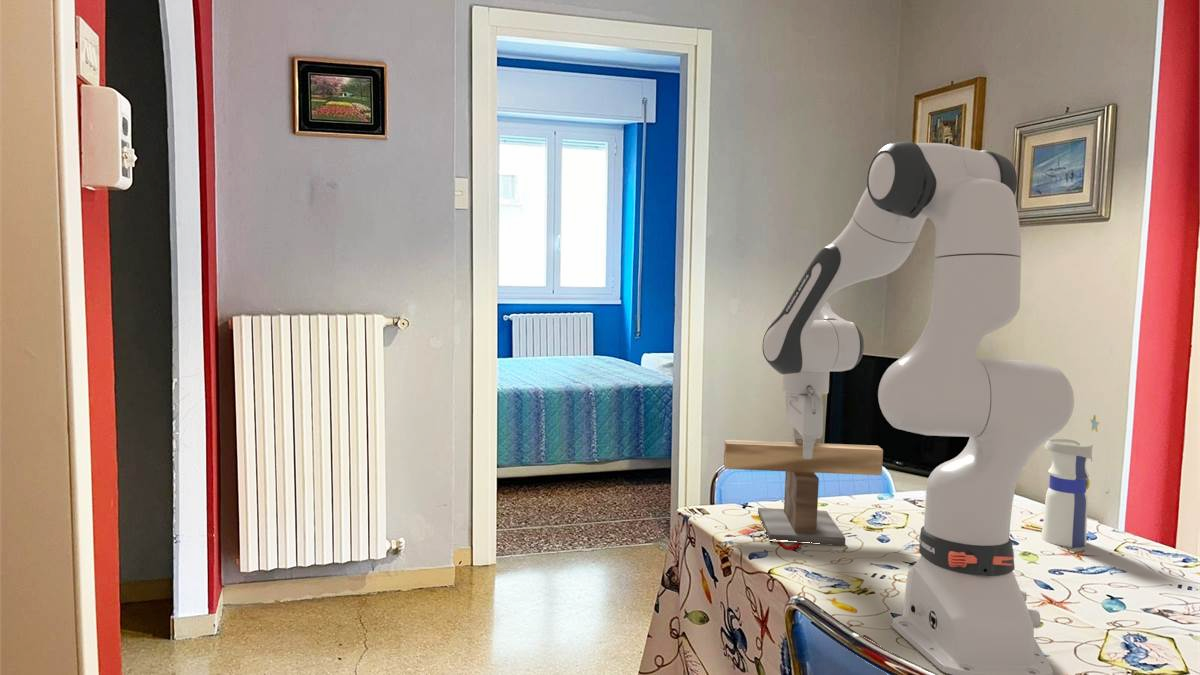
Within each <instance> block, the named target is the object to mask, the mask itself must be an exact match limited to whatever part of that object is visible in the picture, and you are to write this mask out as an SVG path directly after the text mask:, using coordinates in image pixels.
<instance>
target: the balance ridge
mask: <svg viewBox="0 0 1200 675" xmlns="http://www.w3.org/2000/svg"><path fill="white" fill-rule="evenodd" d="M816 474H817V473H812V472H788V471H785V478H784V480H785V481H784V502H783V503H784V504H783V508H767V507H765V508H764V507H758V509H757V511H758V512H757V515H758V514H759V516H758V518H759V517H760V519H761V521H762V523H761V525H762V524H763V526H764V528H765V530H766V532H767V535H768V537H769V539H776V540H788V541H797V542H810V543H811V542H812V543H820V544H832V545H831V546H841V545H845V546H846V537H845V535H844V534H843V532H842V531H841V529H840V528H839V526H838V525H837V524H836V523H835V521H834V519H833V518H832V516H830V514H829V513H828V512H827V510H818V507H819V506H818V505H819V504H818V502H819V484H820V483H819V477H818V476H817V475H816ZM760 519H759V520H760ZM761 521H760V522H761ZM763 526H762V527H763ZM764 528H763V529H764ZM767 535H766V536H767ZM820 544H819V545H820Z"/></svg>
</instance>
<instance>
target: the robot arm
mask: <svg viewBox="0 0 1200 675" xmlns="http://www.w3.org/2000/svg"><path fill="white" fill-rule="evenodd" d="M1016 171H1017V170H1016V168H1015V166H1014V164H1013V162H1012V161H1011V160H1010V159H1009V158H1007V157H1006V156H1004V155H1002V154H999V153H997V152H994V151H990V150H985V149H984V150H983V149H982V150H977V149H973V148H969V147H964V146H957V145H953V144H950V143H940V142H914V141H911V140H910V141H909V140H907V141H906V140H905V141H899V142H893V143H888V144H886V145H884V146H882V147H881V148H880V149H879V150H878V151H877V153H876V154H875V156H874V157H873V159H872V160H871V163H870V165H869V167H868V171H867V177H866V187H865V189H864V192H863V193H862V195H861V196H860V199H859V201H858V203H857V204H856V207H855V209H854V212H853V215H852V217H851V219H850V220H849V222H848V223H847V225H846V226H845V227H844V229H843V230H842V232H841V233H840V234H839V235H838V236H837V237H836V238H835V239H834V240H833V241H832V242H831V243H830V244H828V245H826V246H824V247H823V248H822V249H821V250H820V251H818V252H817V254H816V255H815V257H813V259H812V261H811V263H810V264H809V265H808V267H807V269H806V270H805V272H803V275H802V277H801V278H800V280H799V282H798V284H797V285H796V287H795V289H794V290H793V292H792V294H791V295H790V297H789V299H788V300H787V303H786V304H785V305H784V308H783V309H782V310H781V312H780V313H779V314H778V316H777V317H776V318H775V319H774V320H773V322H772V323H771V324H770V325H769V326H768V327H767V330H766V331H765V333H764V336H763V339H762V346H761V348H762V354H763V356H764V359H765V360H766V362H767V363H768V365H769V366H770V367H772V368H773V369H774V370H775V371H776V372H777V373H779V374H780V375H782V387H781V388H782V392H785V412H786V418H787V421H788V423H789V424H791V426H792V433H793V442H796V443H803V448H802V457H803V458H804V459H811V458H812V455H813V448H814V444H815V443H816V439H821V438H822V437H823V432H824V402H823V399H822V396H823V395H827V394H829V391H830V390H829V389H830V372H845V371H851V370H853V369H854V368H856V366H857V365H858V364H859V363H860V361H861V360H862V358H863V353H864V350H865V349H864V348H865V340H864V336H863V333H862V332H861V330H860V328H859V327H858V326H857V325H856V324H855V323H854V322H852V321H848V320H846V319H844V318H842V317H840V316H839V315H838V314H836V313H835V312H834V311H833V310H832V307H831V305H830V303H829V302H827V301H828V299H829V298H830V297H831V296H832V295H834V294H835V293H836V292H838V291H839V290H840V291H841V289H843V288H846V287H849V286H852V285H854V284H857V283H860V282H864V281H868V280H872V279H876V278H877V279H878V278H880V277H884V276H886V275H889V274H891V273H893V272H895V271H897V270H898V269H899V268H900V267H901V266H902V265H903V264H904V262H906V261H907V259H908V257H909V256H910V255H911V253H912V251H913V249H914V247H915V245H916V242H917V240H918V238H919V236H920V234H921V231H922V230H923V228H924V225H925V224H926V220H927V219H929V220H930V221H931V222H932V224H933V225H934V228H935V243H934V244H935V245H934V266H933V269H934V270H933V271H934V272H933V288H932V289H933V290H932V298H931V308H930V313H929V315H928V316H929V317H928V320H927V323H926V325H925V327H924V329H923V331H922V333H921V335H920V337H919V338H918V339H917V341H916V342H915V344H913V346H912V347H911V348H910V349H909V350H908V351H907V352H906V353H905V354H904V355H902V356H901V357H900V358H899V359H897V360H896V361H894V362H893V363H891V365H889V366H888V367H887V369H886V370H885V371H884V373H883V374H882V377H881V379H880V382H879V385H878V390H877V398H878V399H877V400H878V404H879V408H880V410H881V414H882V415H883V417H884V418H885V420H886V421H887V422H888V423H889V424H890V426H892V428H895V429H897V430H902V431H905V432H910V433H913V434H919V435H924V436H931V437H932V436H937V437H965V438H967V437H968V438H969V439H968V441H967V444H966V446H965V447H964V448H963V450H962V451H961V452H960V453H959V454H958V455H957V456H955V457H954V458H952V459H950V460H947V461H944V462H943V463H940V464H939V465H938V466H936V467H935V468H934V469H933V470H932V471H931V472H930V474H929V476H928V478H927V480H926V485H925V486H926V487H925V500H924V501H925V505H924V506H925V507H924V520H923V521H924V522H923V524H924V525H923V526H922V527H921V528H920V533H919V534H920V535H919V537H918V538H919V539H918V544H919V549H918V552H919V554H920V556H919V558H918V560H917V561H916V562H915V563H914V564H913V565H912V566H911V567H910V568H909V569H908V571H907V575H906V576H907V577H906V582H905V592H904V600H903V608H902V609H903V610H902V615H898V616H896V617H893V618H892V621H891V622H892V623H891V627H892V629H894V630H895V631H896V632H897V633H898V634H899V635H900V636H902V637H903V638H904V639H905V640H906V641H907V642H909V644H911V645H912V646H913V647H914V648H915V649H916V650H917V651H918V652H920V653H921V655H923V656H924V657H925V658H926V659H927V660H928V661H929V662H931V664H933V665H934V666H935V667H936V668H938V670H939V671H941V672H943V673H946V674H948V675H1054V671H1053V668H1052V667H1051V665H1050V663H1049V660H1047V658H1046V656H1045V654H1044V653H1043V650H1042V649H1041V647H1040V645H1039V644H1038V642H1037V640H1036V638H1035V631H1034V630H1035V629H1039V628H1040V626H1041V614H1040V612H1039V610H1037V609H1030V608H1028V606H1027V603H1026V602H1027V598H1028V597H1027V596H1028V594H1027V592H1026V591H1023V590H1021V588H1020V586H1019V583H1018V581H1017V578H1016V575H1015V574H1014V570H1015V559H1014V558H1015V550H1014V546H1013V541H1012V539H1011V537H1010V532H1011V518H1012V512H1013V511H1012V510H1013V504H1014V503H1013V502H1014V496H1015V490H1016V487H1017V482H1018V480H1019V477H1020V475H1021V473H1022V471H1023V469H1024V467H1025V466H1026V464H1027V462H1028V461H1029V460H1030V458H1031V456H1032V455H1033V454H1034V453H1035V452H1036V450H1037V449H1038V448H1039V447H1040V446H1042V444H1045V442H1047V441H1048V440H1049V439H1051V438H1052V437H1053V436H1055V435H1056V434H1058V433H1060V432H1061V431H1062V430H1063V429H1064V428H1065V426H1066V425H1067V424H1068V422H1070V420H1071V417H1072V415H1073V411H1074V409H1075V408H1074V407H1075V396H1074V390H1073V388H1072V385H1071V383H1070V381H1069V379H1068V378H1067V376H1066V375H1065V373H1064V372H1063V371H1062V370H1060V369H1059V368H1057V366H1052V365H1047V364H1045V363H1040V362H1036V361H1030V360H1026V359H1007V358H1005V359H1003V358H978V357H977V353H978V350H979V349H978V348H979V346H980V344H981V342H982V340H983V339H984V338H985V336H987V335H989V334H991V333H994V332H995V331H998V330H1000V329H1002V328H1004V327H1005V326H1008V324H1010V323H1011V322H1012V321H1013V320H1014V319H1015V317H1016V316H1017V314H1018V313H1019V310H1020V308H1021V281H1022V280H1021V276H1022V275H1021V273H1022V272H1021V270H1022V243H1021V242H1022V241H1021V239H1022V238H1021V227H1020V218H1019V213H1018V207H1017V202H1016V198H1015V195H1016V192H1017V188H1018V178H1017V177H1018V176H1017V172H1016Z"/></svg>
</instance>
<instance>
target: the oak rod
mask: <svg viewBox="0 0 1200 675" xmlns="http://www.w3.org/2000/svg"><path fill="white" fill-rule="evenodd" d="M723 446H724V448H723V451H724V452H723V466H724V468H725V470H741V471H742V470H743V471H763V472H764V471H765V472H766V471H769V472H786V471H788V472H812V473H815V474H817V473H818V474H837V475H838V474H839V475H860V476H861V475H862V476H864V475H865V476H866V475H867V476H883V459H884V458H883V457H884V450H883V448H881V446H879V445H871V444H870V445H867V444H845V443H844V444H843V443H816V442H815V444H814V448H813V455H812V458H811V459H804V458H803V457H802V448H803V443H796V442H794V441H793V442H792V441H771V440H770V441H767V440H764V441H763V440H740V439H724V445H723Z"/></svg>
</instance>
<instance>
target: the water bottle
mask: <svg viewBox="0 0 1200 675" xmlns="http://www.w3.org/2000/svg"><path fill="white" fill-rule="evenodd" d="M1089 422H1090V423H1091V431H1095V432H1096V433H1098V425H1099V424H1100V421H1098V420H1097V417H1096V414H1094V415H1093V418H1092V419H1090V421H1089ZM1044 444H1045V445H1044V446H1043V448H1044V449H1045V450H1047V451H1050V452H1051V458H1052V462H1051V466H1050V467H1049V469H1048V470H1047V472H1048V474H1049V484H1048V485H1049V486H1048V488H1047V490H1046V494H1045V502H1044V513H1043V514H1044V515H1043V522H1042V523H1043V524H1042V528H1041V529H1042V531H1041V539H1042V541H1044V542H1046V543H1049V544H1053V545H1057V546H1061V547H1062V546H1063V547H1068V548H1069V547H1070V548H1082V547H1083V548H1084V547H1085V546H1087V527H1088V526H1087V522H1088V508H1089V507H1088V505H1089V502H1088V501H1089V500H1088V494H1087V491H1088V490H1089V487H1090V484H1091V483H1090V479H1089V477H1090V474H1089V473H1088V471H1087V461H1088V459H1089V460H1091V462H1093V447H1094V446H1093V444H1091V445H1090V446H1089V445H1088V446H1081V442H1079V441H1077V440H1074V439H1069V438H1049V439H1047V440H1046V443H1044Z"/></svg>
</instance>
